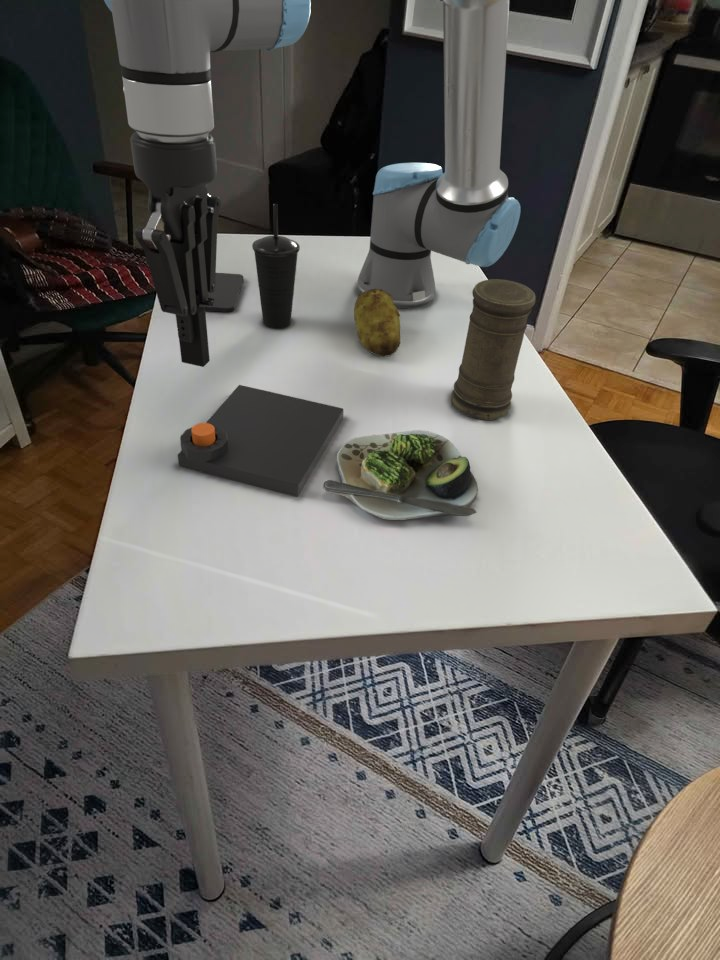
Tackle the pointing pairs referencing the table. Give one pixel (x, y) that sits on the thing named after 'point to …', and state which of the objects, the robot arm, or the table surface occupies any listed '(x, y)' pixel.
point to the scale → (264, 440)
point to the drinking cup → (276, 276)
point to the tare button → (203, 434)
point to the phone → (225, 292)
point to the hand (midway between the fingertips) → (195, 361)
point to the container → (492, 348)
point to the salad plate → (405, 476)
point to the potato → (377, 322)
